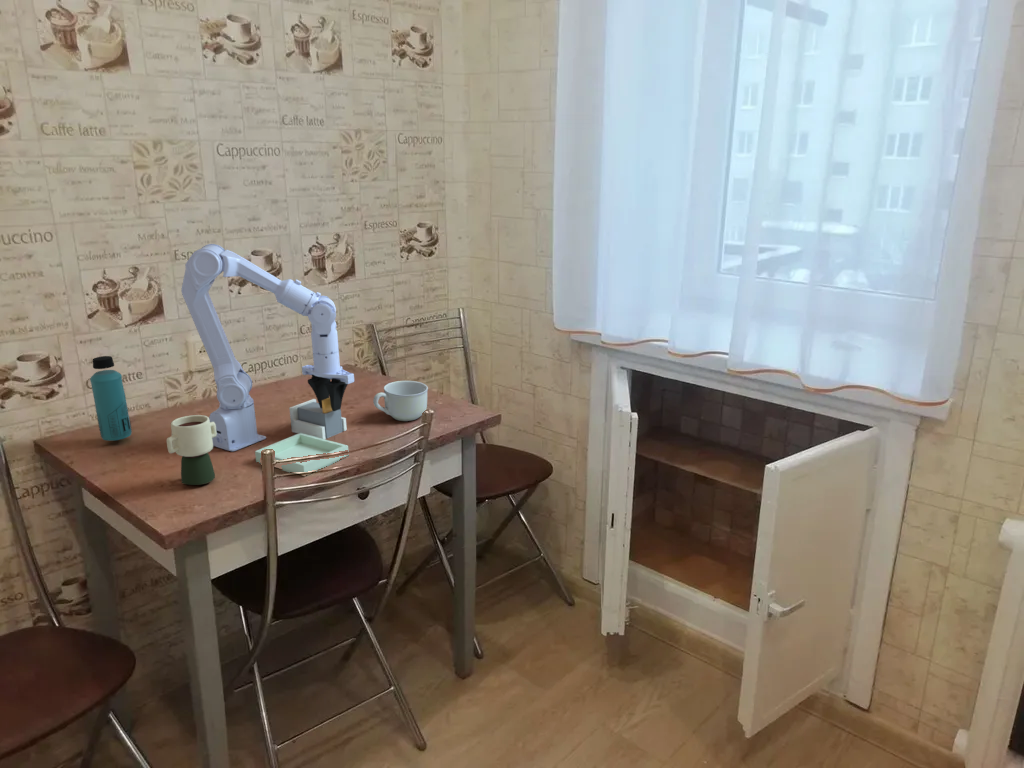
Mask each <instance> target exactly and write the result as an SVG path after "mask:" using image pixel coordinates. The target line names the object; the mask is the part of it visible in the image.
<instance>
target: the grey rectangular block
mask: <svg viewBox="0 0 1024 768" xmlns="http://www.w3.org/2000/svg"><path fill="white" fill-rule="evenodd" d="M297 409H298V420H300V421H304V422H308V423H312V424H316V425H319V426H323V427H325V437H326V439H329V438H331V437H334V436H336V435H338V434H341V433H343V432H344V431H342V418H341V417H342V409H339V410H337V411H332V408H331V403H330V397H329V398H327V399H324V400H322V408H320V405H319V403H318V402H317V401H316V402H312V403H309V404H306V405H303V406H301V407H298V408H297Z"/></svg>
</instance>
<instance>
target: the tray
mask: <svg viewBox="0 0 1024 768" xmlns="http://www.w3.org/2000/svg"><path fill="white" fill-rule="evenodd" d="M264 449H273V450H274V451H275V459H276V460H283V459H287V458H291V457H303V456H308V455H316V454H323V453H326V454H327V453H334V452H339V451H345V450H348V451H349V445H347V444H344V443H340V442H336V441H332V440H328V439H322V438H318V437H314V436H310V435H307V434H303V433H299V434H298V433H295V434H294V435H292V436H289V437H287V438H284V439H282V440H279V441H276V442H274V443H272V444H270V445H268V446H265V447H262V448H260V449H257V450H255V451H254V455H255V462H256V463H257V462H259V463H258V464H261V463H260V458H261V451H262V450H264ZM349 454H350V453H349ZM349 454H348V455H344V456H339V457H335V458H329V459H320V460H310V461H307V462H302V463H300V462H296V463H292V464H287V465H282V466H281V467H282V469H283V470H282V471H284V472H287V473H290V472H308V471H312V470H318V469H321V468H323V469H325V468H327V467H329V466H332V465H334V464H336V463H338V462H340V461H341V460H340V458H342V457H346V456H348V457H349V456H350V455H349ZM346 458H347V457H346ZM339 460H340V461H339ZM337 461H338V462H337ZM335 462H336V463H335ZM333 463H334V464H333ZM326 466H327V467H326ZM324 467H325V468H324ZM321 470H322V469H321Z"/></svg>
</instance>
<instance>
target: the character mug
mask: <svg viewBox="0 0 1024 768" xmlns="http://www.w3.org/2000/svg"><path fill="white" fill-rule="evenodd" d="M209 417H210V416H207V415H201V414H195V415H194V414H193V415H185V416H181V417H177V418H175V419H173V420H172V421H171V422H170V429H171V436H169V437H167V438H166V446H167V451H168V453H169V454H174V453H176V455H178V456H181V459H180V478H181V479H180V480H181V484H183V485H190V486H191V485H192V486H196V485H197V486H199V485H200V486H201V485H206V484H208V483H210V482H213V481H214V479H215V478H216V475H215V474H216V473H215V470H214V466H213V463H212V458H211V456H210V454H209V452H211V451H213V449H214V446H213V441H212V438H214V437H216V436H217V431H216V424H215V422H210V420H209Z"/></svg>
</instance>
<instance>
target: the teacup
mask: <svg viewBox="0 0 1024 768" xmlns="http://www.w3.org/2000/svg"><path fill="white" fill-rule="evenodd" d="M428 390H429V387H428V385H427V384H425V383H423V382H421V381H416V380H397V381H393V382H388V383H386V385H384V386H383V391H384V392H377V393H376V394H375V395H374V397H373V403H372V404H373V405H374V407H375V408H376V409H378V410H379V411H381V412H384V413H385V414H386V415H389V416H390V417H391V418H393V419H394V420H396V421H401V422H408V421H409V422H410V421H416V420H417V419H419V418H420V417H421V416H423V415H422V413H423V412H424V411H425V410H427V409H428ZM380 398H384V407H383V406H381V405H380V403H379V400H380ZM425 412H426V411H425ZM425 412H424V413H425Z"/></svg>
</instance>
